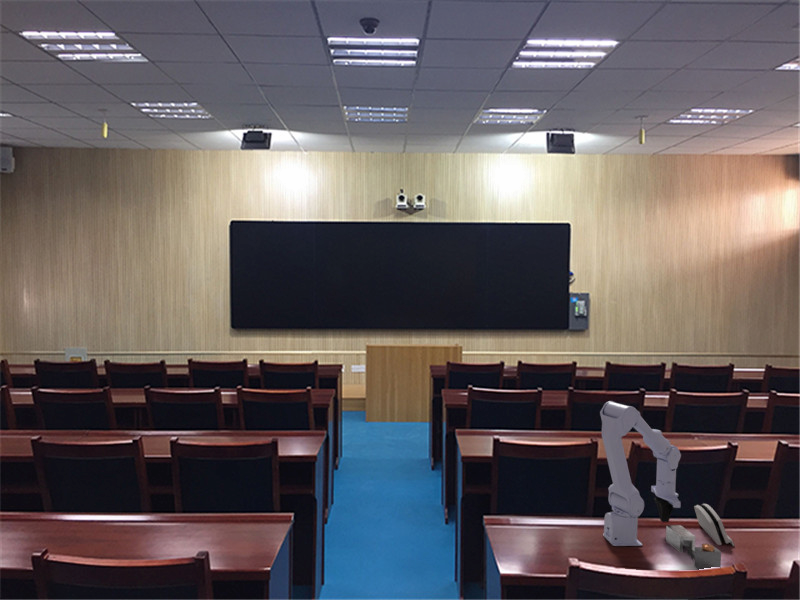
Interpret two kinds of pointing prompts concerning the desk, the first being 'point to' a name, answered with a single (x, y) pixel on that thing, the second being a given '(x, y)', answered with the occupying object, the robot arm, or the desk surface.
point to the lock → (680, 537)
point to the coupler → (706, 556)
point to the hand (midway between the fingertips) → (664, 521)
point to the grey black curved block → (712, 524)
